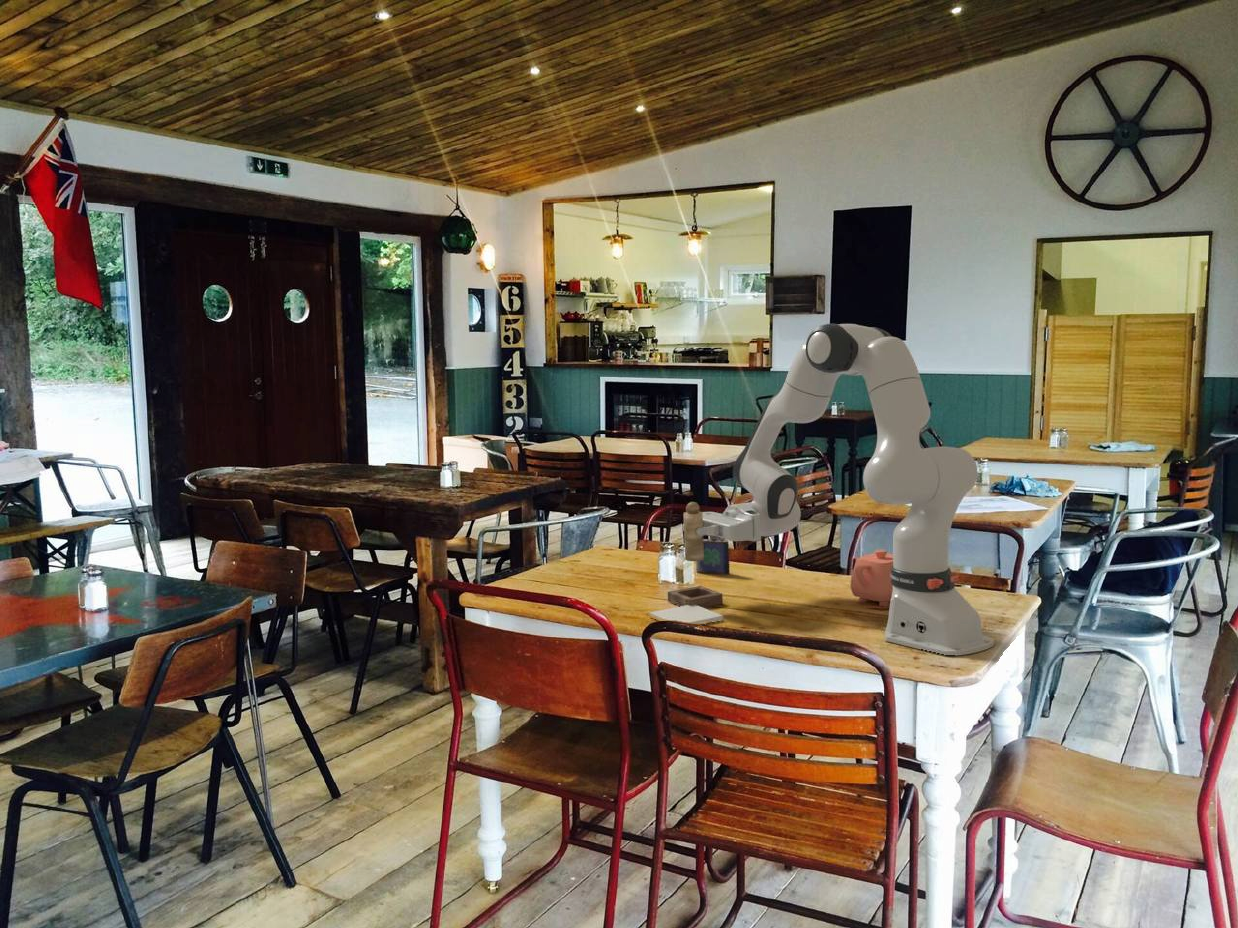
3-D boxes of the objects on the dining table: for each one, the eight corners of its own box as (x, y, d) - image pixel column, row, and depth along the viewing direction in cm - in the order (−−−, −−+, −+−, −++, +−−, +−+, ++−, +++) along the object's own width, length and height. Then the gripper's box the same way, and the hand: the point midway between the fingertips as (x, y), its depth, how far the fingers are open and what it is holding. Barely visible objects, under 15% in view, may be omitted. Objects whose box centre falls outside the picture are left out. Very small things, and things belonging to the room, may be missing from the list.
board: (722, 620, 231) (722, 615, 230) (677, 630, 225) (677, 624, 225) (693, 608, 241) (693, 603, 241) (649, 617, 235) (649, 612, 235)
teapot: (879, 613, 232) (878, 561, 230) (836, 604, 240) (835, 553, 239) (928, 595, 244) (929, 546, 243) (886, 587, 253) (886, 539, 252)
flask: (694, 572, 275) (694, 533, 274) (698, 570, 278) (697, 531, 276) (727, 575, 271) (727, 535, 270) (731, 572, 274) (730, 533, 272)
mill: (707, 559, 241) (705, 502, 239) (691, 562, 238) (689, 504, 237) (697, 556, 244) (695, 499, 243) (681, 558, 242) (679, 501, 241)
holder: (722, 604, 244) (722, 593, 244) (689, 610, 240) (688, 600, 239) (700, 595, 252) (700, 585, 252) (668, 601, 248) (667, 591, 247)
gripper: (714, 503, 255) (666, 510, 249) (764, 515, 237) (713, 522, 231) (715, 528, 256) (667, 536, 250) (764, 541, 238) (714, 550, 232)
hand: (690, 529), depth 240 cm, fingers closed on mill, 4 cm apart
